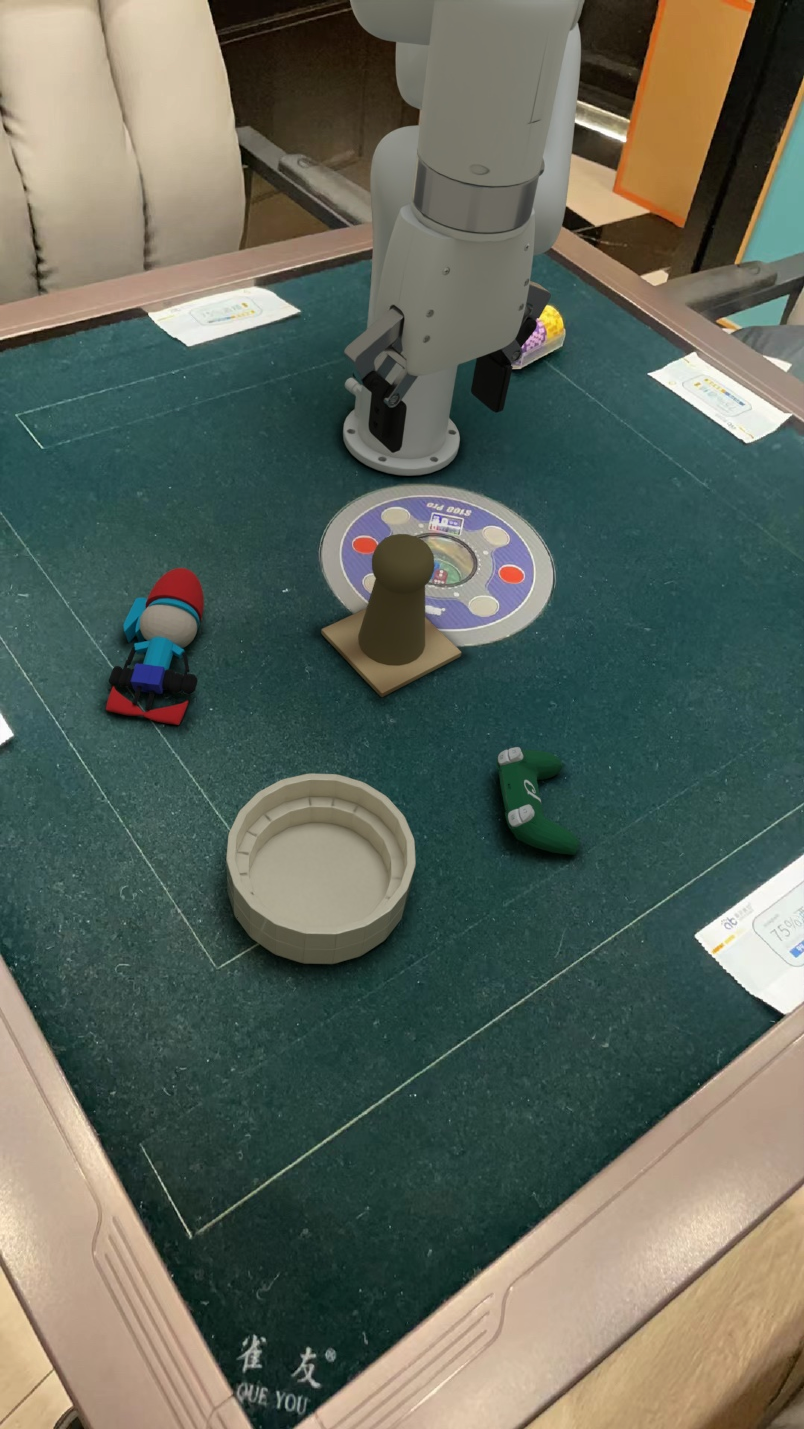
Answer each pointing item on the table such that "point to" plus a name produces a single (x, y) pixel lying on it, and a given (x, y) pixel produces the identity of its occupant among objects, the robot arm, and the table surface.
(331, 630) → the coaster
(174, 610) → the toy figure
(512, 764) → the gaming controller
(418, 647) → the olive brown pawn
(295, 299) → the table surface
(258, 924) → the bowl
